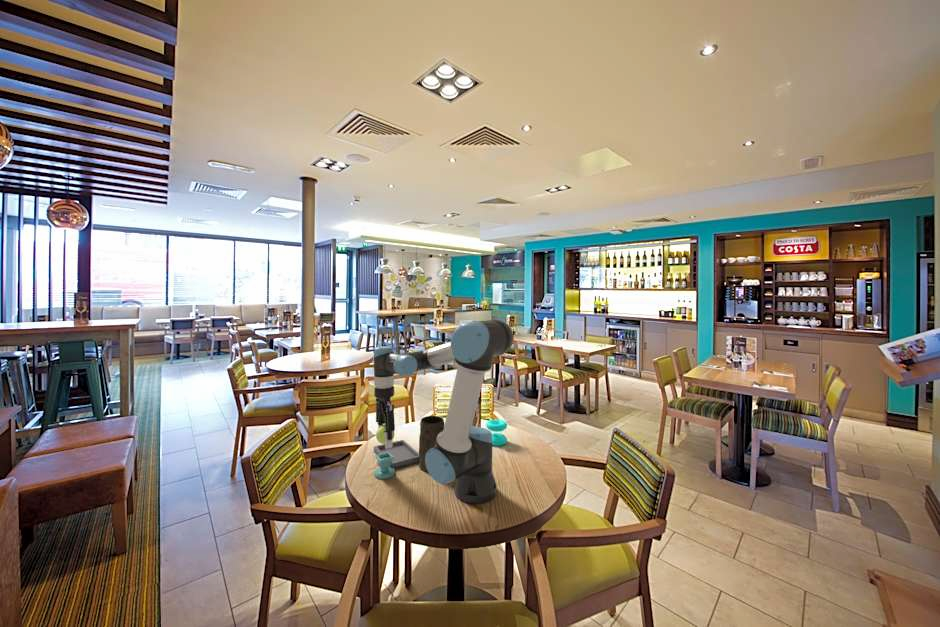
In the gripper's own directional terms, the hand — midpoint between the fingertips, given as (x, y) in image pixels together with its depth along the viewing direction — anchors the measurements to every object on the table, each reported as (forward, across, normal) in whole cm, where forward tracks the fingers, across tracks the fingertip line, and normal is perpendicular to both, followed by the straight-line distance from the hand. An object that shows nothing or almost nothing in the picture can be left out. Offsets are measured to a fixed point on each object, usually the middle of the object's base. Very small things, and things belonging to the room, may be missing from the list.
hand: (385, 444), depth 143 cm
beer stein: (+13, -5, -20) cm, 24 cm away
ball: (-4, 0, 0) cm, 4 cm away
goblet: (+12, +1, 0) cm, 12 cm away
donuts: (+13, +2, -56) cm, 57 cm away
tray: (+12, +13, -10) cm, 20 cm away
